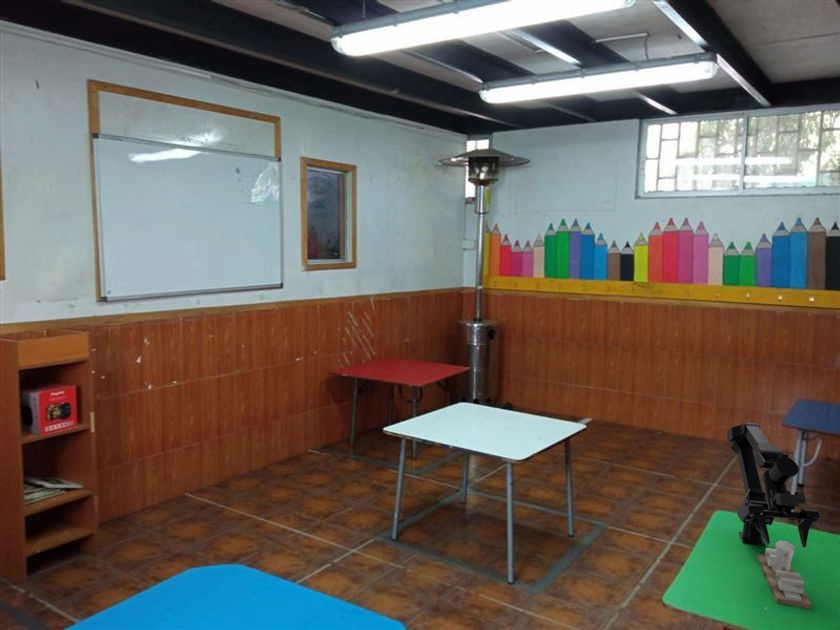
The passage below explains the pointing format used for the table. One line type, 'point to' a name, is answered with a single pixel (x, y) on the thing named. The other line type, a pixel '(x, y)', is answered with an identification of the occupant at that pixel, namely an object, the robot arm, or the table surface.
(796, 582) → the wooden board with pads
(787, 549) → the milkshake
